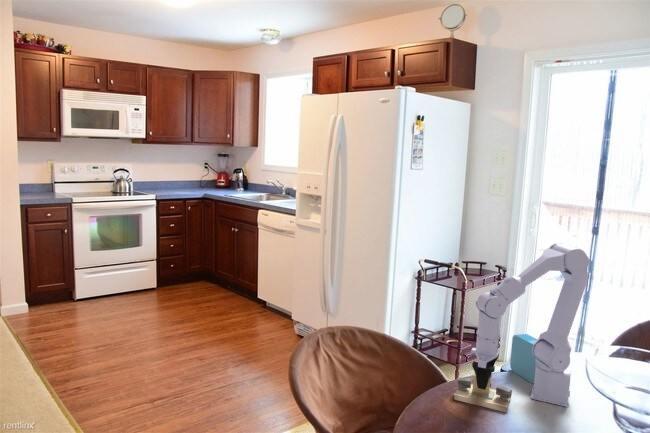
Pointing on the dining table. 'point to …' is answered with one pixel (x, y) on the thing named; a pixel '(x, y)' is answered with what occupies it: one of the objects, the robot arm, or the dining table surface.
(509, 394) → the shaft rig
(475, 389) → the coupler
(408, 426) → the dining table surface
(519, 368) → the light blue flat block
